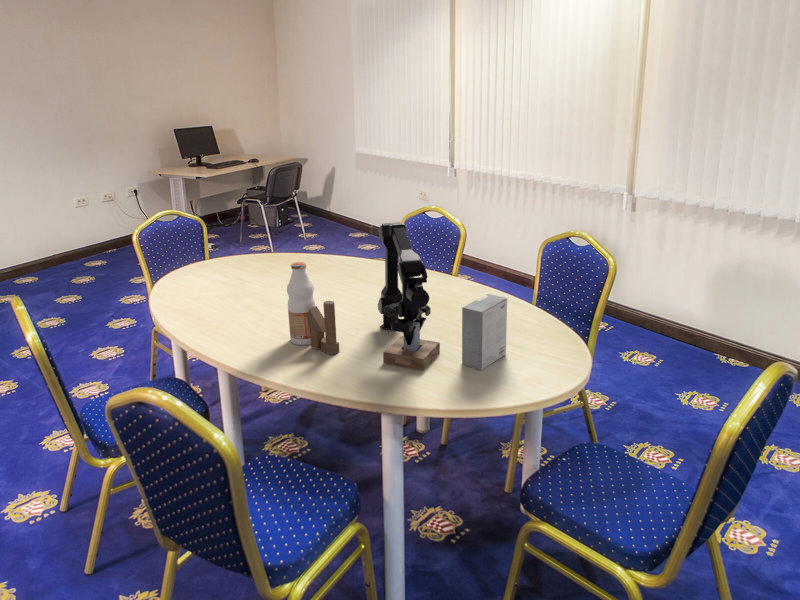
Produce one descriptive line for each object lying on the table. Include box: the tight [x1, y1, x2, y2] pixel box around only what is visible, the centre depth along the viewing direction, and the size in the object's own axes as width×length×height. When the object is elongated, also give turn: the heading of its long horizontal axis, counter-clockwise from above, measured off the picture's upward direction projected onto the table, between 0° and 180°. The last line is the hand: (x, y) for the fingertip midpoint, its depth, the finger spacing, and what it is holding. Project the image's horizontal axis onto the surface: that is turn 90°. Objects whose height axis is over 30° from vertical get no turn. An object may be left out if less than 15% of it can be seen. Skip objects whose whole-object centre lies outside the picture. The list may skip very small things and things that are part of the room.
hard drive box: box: [461, 293, 508, 371], centre depth 201 cm, size 16×8×20 cm, turn 141°
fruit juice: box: [286, 261, 316, 346], centre depth 217 cm, size 9×9×28 cm
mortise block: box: [382, 335, 441, 371], centre depth 206 cm, size 14×14×4 cm
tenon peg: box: [402, 322, 421, 352], centre depth 204 cm, size 4×4×9 cm
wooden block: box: [309, 300, 340, 356], centre depth 211 cm, size 4×11×18 cm, turn 48°
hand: (411, 342), depth 205 cm, fingers closed on tenon peg, 4 cm apart
